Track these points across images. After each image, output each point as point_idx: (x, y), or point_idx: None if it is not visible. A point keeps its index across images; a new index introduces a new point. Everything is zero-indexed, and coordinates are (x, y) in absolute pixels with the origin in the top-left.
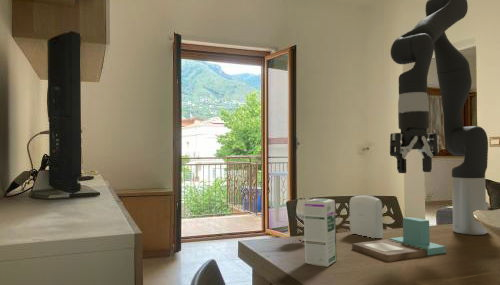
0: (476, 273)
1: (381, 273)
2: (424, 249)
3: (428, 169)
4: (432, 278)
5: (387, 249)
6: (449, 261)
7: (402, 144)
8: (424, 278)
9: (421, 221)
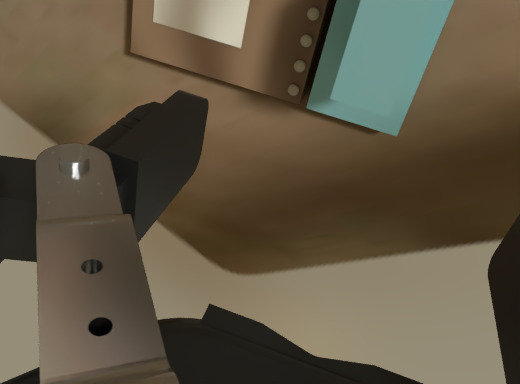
0: (249, 243)
1: (55, 92)
2: (299, 98)
3: (495, 277)
4: None
5: (184, 8)
6: (304, 167)
7: (68, 335)
8: None
9: (335, 100)
